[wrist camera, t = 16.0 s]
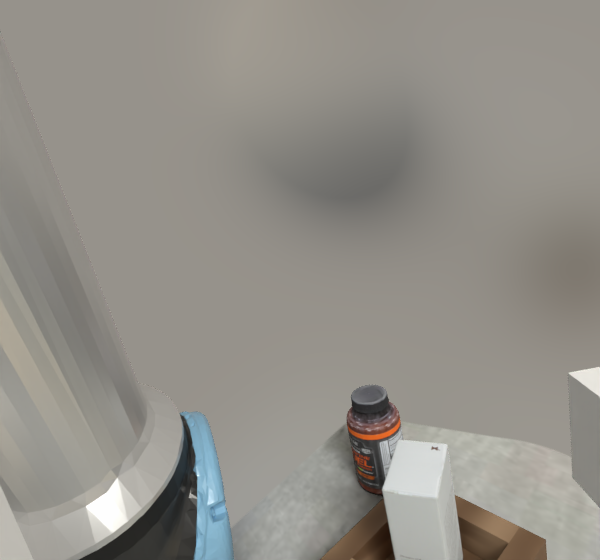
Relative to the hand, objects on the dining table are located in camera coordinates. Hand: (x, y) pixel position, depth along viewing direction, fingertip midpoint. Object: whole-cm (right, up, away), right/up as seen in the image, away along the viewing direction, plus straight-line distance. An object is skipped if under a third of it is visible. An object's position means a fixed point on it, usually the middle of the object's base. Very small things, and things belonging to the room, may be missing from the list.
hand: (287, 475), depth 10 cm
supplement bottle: (+10, -19, +41) cm, 46 cm away
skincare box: (+12, -21, +27) cm, 36 cm away
